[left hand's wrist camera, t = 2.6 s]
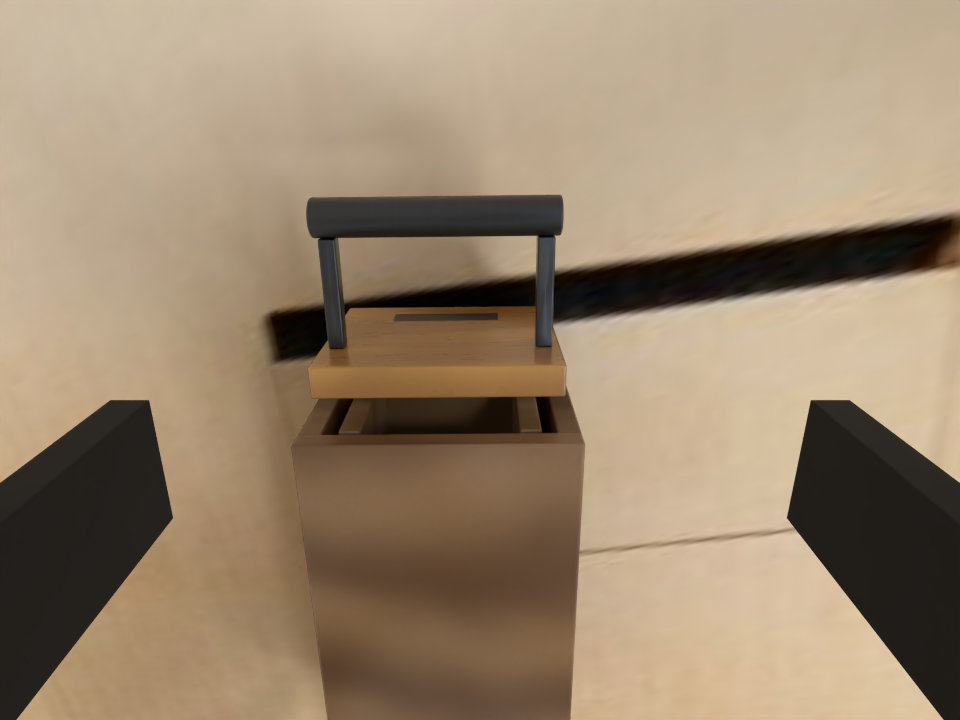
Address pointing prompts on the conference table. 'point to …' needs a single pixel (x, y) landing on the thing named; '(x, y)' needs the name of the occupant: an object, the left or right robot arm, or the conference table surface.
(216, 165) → the conference table surface
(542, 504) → the cabinet
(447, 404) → the drawer
